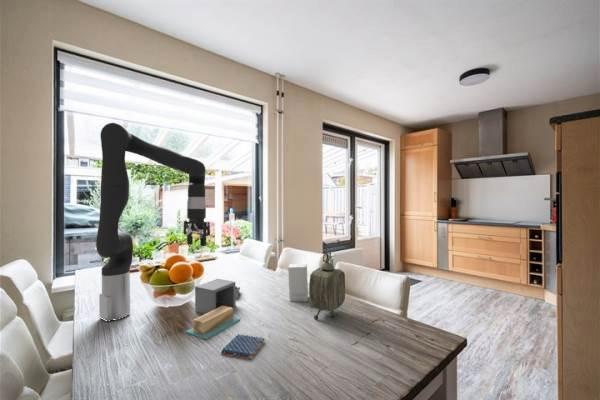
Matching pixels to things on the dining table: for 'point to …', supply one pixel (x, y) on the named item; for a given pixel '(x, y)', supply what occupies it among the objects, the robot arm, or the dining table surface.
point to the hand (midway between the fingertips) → (196, 245)
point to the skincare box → (298, 282)
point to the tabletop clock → (326, 287)
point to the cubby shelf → (214, 295)
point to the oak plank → (212, 319)
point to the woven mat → (243, 346)
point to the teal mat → (214, 331)
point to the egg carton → (237, 291)
